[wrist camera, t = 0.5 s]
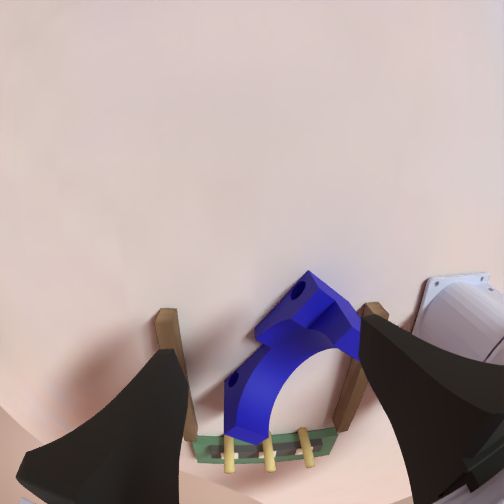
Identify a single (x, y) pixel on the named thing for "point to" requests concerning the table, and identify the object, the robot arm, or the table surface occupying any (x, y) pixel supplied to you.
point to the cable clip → (287, 353)
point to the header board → (265, 449)
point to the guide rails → (348, 400)
